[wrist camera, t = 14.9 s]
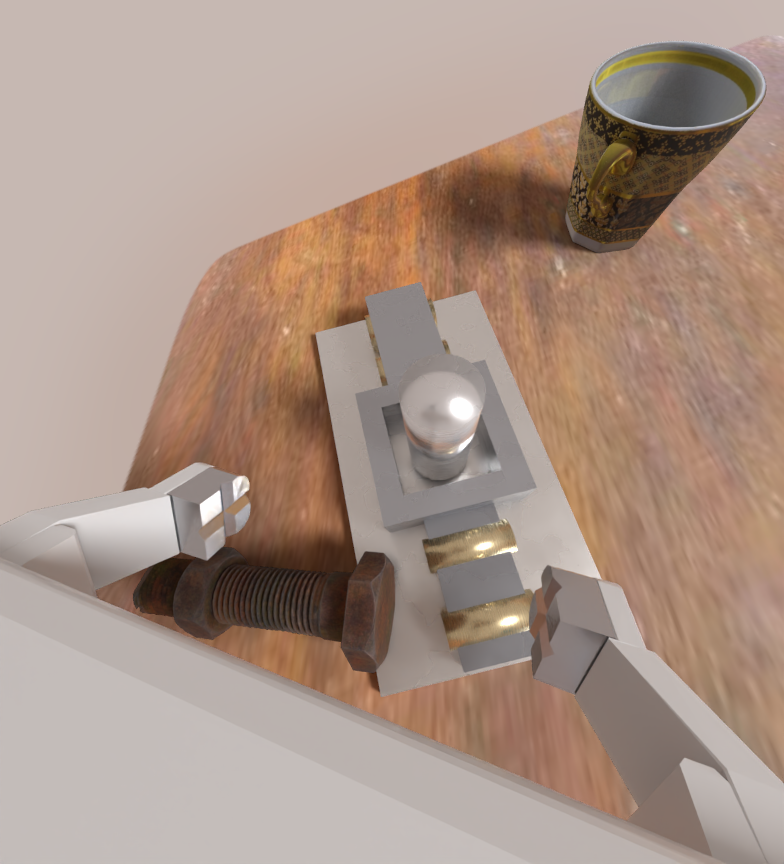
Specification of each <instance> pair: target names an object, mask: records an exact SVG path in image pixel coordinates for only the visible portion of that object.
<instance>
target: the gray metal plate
mask: <svg viewBox="0 0 784 864" xmlns="http://www.w3.org/2000/svg"><path fill="white" fill-rule="evenodd" d="M365 300H366V304H367V308H368V312H369V314H368V315H365V316H364V317H365V320H362V321H359V322H355V323H351V324H347V325H344V326H340V327H336V328H332V329H328V330H325V331H321V332H317V333H316V339H317V344H318V350H319V355H320V361H321V366H322V372H323V378H324V383H325V389H326V394H327V400H328V405H329V411H330V416H331V422H332V428H333V433H334V439H335V444H336V450H337V455H338V461H339V466H340V472H341V478H342V483H343V489H344V494H345V500H346V505H347V511H348V516H349V522H350V528H351V533H352V539H353V544H354V550H355V555H356V561H357V564H358V563H359V561H360V559H361V557H362V556H363V554H364V552H365V551H369V552H380V553H384V554H385V555H386V556H387V557H388V558H389V559H390V561H391V562H392V564H393V566H394V573H395V611H394V619H393V626H392V633H391V638H390V643H389V649H388V653H387V656H386V658H385V660H384V661H383V663H382V664H381V665H380V667H379V668H378V669H377V670H376V672H377V678H378V683H379V689H380V694H381V697H383V696H387V695H391V694H395V693H399V692H403V691H407V690H411V689H415V688H419V687H423V686H427V685H431V684H435V683H439V682H443V681H447V680H451V679H455V678H459V677H463V676H467V675H471V674H475V673H479V672H483V671H488V670H492V669H496V668H500V667H504V666H508V665H512V664H516V663H520V662H524V661H528V660H532V659H531V648H532V645H533V643H534V641H535V639H534V637H533V636H532V635H531V633H530V632H529V611H530V606H531V601H532V598H533V595H534V592H535V590H537V589H539V588H541V587H542V582H541V575H542V573H543V571H544V569H545V567H546V566H547V565H550V566H554V567H557V568H561V569H564V570H568V571H571V572H575V573H578V574H582V575H585V576H589V577H592V578H594V577H595V578H598V579H601V577H600V575H599V572H598V570H597V568H596V565H595V563H594V561H593V559H592V556H591V554H590V552H589V549H588V547H587V545H586V543H585V540H584V538H583V536H582V533H581V531H580V529H579V526H578V524H577V522H576V520H575V517H574V515H573V513H572V510H571V508H570V506H569V504H568V501H567V499H566V497H565V494H564V492H563V490H562V488H561V485H560V483H559V481H558V478H557V476H556V474H555V471H554V469H553V467H552V465H551V462H550V460H549V458H548V455H547V453H546V451H545V449H544V446H543V444H542V442H541V439H540V437H539V435H538V432H537V430H536V428H535V426H534V423H533V421H532V419H531V416H530V414H529V412H528V410H527V407H526V405H525V403H524V400H523V398H522V396H521V393H520V391H519V389H518V387H517V384H516V382H515V380H514V377H513V375H512V373H511V371H510V368H509V366H508V364H507V361H506V359H505V357H504V354H503V352H502V350H501V348H500V345H499V343H498V341H497V338H496V336H495V334H494V332H493V329H492V327H491V325H490V322H489V320H488V318H487V315H486V313H485V311H484V309H483V306H482V304H481V302H480V299H479V297H478V295H477V293H476V290H475V291H472V292H468V293H464V294H460V295H457V296H453V297H449V298H445V299H442V300H438V301H434V302H432V300H431V298H429V299H427V298H426V295H425V293H424V290H423V287H422V284H421V282H419V283H415V284H411V285H408V286H404V287H400V288H396V289H393V290H389V291H385V292H381V293H378V294H374V295H370V296H366V297H365ZM433 354H452V355H456V356H459V357H462V358H464V359H466V360H467V361H469V362H470V363H472V364H473V365H474V366H475V367H476V368H477V369H478V371H479V372H480V373H481V375H482V377H483V380H484V383H485V388H486V395H485V400H484V404H483V407H482V411H481V414H480V418H479V421H478V424H477V428H476V431H475V435H474V438H473V441H472V445H471V448H470V452H469V455H468V459H467V462H466V464H465V466H464V468H463V469H462V470H461V471H460V472H459V473H458V474H457V475H456V476H454V477H452V478H450V479H446V480H433V479H429V478H427V477H425V476H423V475H422V474H420V473H419V472H418V471H417V470H416V468H415V467H414V465H413V463H412V461H411V457H410V451H409V446H408V441H407V436H406V431H405V426H404V421H403V416H402V411H401V406H400V401H399V394H398V393H399V384H400V381H401V378H402V376H403V374H404V373H405V371H406V370H407V369H408V368H409V367H410V366H411V365H412V364H413V363H414V362H416V361H417V360H419V359H421V358H423V357H426V356H429V355H433Z"/></svg>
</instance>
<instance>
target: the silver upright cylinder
mask: <svg viewBox="0 0 784 864" xmlns="http://www.w3.org/2000/svg"><path fill="white" fill-rule="evenodd" d="M398 394H399V401H400V406H401V411H402V416H403V421H404V426H405V431H406V436H407V441H408V446H409V451H410V457H411V461H412V463H413V465H414V467H415V468H416V470H417V471H418V472H419V473H420V474H422V475H423V476H425V477H427V478H429V479H433V480H446V479H450V478H452V477H454V476H456V475H457V474H458V473H459V472H460V471H461V470H462V469H463V468H464V466H465V464H466V462H467V459H468V455H469V452H470V448H471V445H472V441H473V438H474V435H475V431H476V428H477V424H478V421H479V418H480V414H481V411H482V407H483V404H484V400H485V395H486V388H485V383H484V380H483V377H482V375H481V373H480V372H479V371H478V369H477V368H476V367H475V366H474V365H473V364H472V363H470V362H469V361H467V360H466V359H464V358H462V357H459V356H456V355H452V354H433V355H429V356H426V357H423V358H421V359H419V360H417V361H416V362H414V363H413V364H412V365H411V366H410V367H409V368H408V369H407V370H406V371H405V373H404V374H403V376H402V378H401V381H400V384H399V393H398Z"/></svg>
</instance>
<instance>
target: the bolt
mask: <svg viewBox="0 0 784 864" xmlns="http://www.w3.org/2000/svg"><path fill="white" fill-rule="evenodd" d="M133 601H134V605H135V607H136V609H137V608H138V607H140V611H141V612H142V613H148V614H156V615H164V616H171V617H174V620H175V622H176V623H177V624H178V625H179V627H180V628H182V629H183V630H185V631H186V632H187V633H189V634H191V635H193V636H194V637H197V638H204V639H211V640H213V639H214V638H216V637H217V636H219V635H220V634H222V633H223V632H225V631H226V630H227V629H229V628H230V627H231V626H232V625H237V626H243V627H246V626H247V627H250V628H251V627H254V628H260V629H266V630H268V629H270V630H281V631H287V632H292V633H297V634H304V635H310V636H313V635H314V636H317V637H322V638H323V639H325V640H332V641H338V642H341V648H342V650H343V652H344V654H345V656H346V658H347V660H348V661H349V663H350V665H351V667H352V669H353V670H356V671H362V672H369V673H374V672H375V671H376V670H377V669H378V668H379V667H380V665H381V664H382V663H383V661H384V660H385V658H386V656H387V653H388V649H389V643H390V638H391V633H392V626H393V619H394V611H395V573H394V566H393V564H392V562H391V561H390V559H389V558H388V557H387V556H386V555H385V554H384V553H380V552H369V551H365V552H364V554H363V556H362V557H361V559H360V561H359V563H358V564H357V566H356V568H355V570H354V571H353V573H346V572H333V573H325V572H323V573H322V572H316V571H312V572H311V571H304V570H294V569H284V568H273V567H270V568H269V567H261V566H260V567H258V566H249V565H248V562H247V561H246V559H245V558H244V557H243V556H242V555H241V554H240V553H239V552H238V551H236V550H235V549H234V548H227V547H221V548H220V549H219V550H218V551H217V552H216V553H215V554H214V555H213V556H212V557H210V558H209V559H208V560H204V559H201V558H198V557H197V558H196V559H195V560H187V559H176V558H168V559H166V560H163V561H161V562H159V563H157V564H154V565H152V566H150V567H149V568H148V569H147V571H146V573H145V574H144V576H143V578H142V579H141V581H140V583H139V584H138V586H137V588H136V589H135V591H134V593H133Z"/></svg>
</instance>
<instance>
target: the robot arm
mask: <svg viewBox="0 0 784 864" xmlns="http://www.w3.org/2000/svg"><path fill="white" fill-rule="evenodd" d="M248 490H249V480H248V478H246V477H245V476H244V475H240V474H237V473H234V472H231V471H228V470H225V469H222V468H219V467H214V466H212V465H208V464H205V463H202V462H200V463H194V464H192V465H190V466H189V467H187V468H185V469H183V470H181V471H180V472H178V473H176V474H174V475H173V476H171V477H169V478H167V479H165V480H164V481H162V482H160V483H158V484H157V485H155V486H153V487H151V488H150V489H148V488H139V489H134V490H129V491H125V492H120V493H115V494H110V495H106V496H101V497H96V498H91V499H86V500H82V501H77V502H72V503H67V504H62V505H57V506H52V507H48V508H43V509H38V510H33V511H30V512H27V513H25V514H23V515H21V516H19V517H17V518H15V519H13V520H11V521H8V522H6V523H4V524H2V525H0V864H784V783H783V782H782V781H781V780H780V779H779V778H778V777H777V776H776V775H775V774H774V773H773V772H772V771H771V770H770V769H769V768H768V767H767V766H766V765H765V764H764V763H763V762H762V761H761V760H760V759H759V758H758V757H757V756H756V755H755V754H754V753H753V752H752V751H751V750H750V749H749V748H748V747H747V746H746V745H745V744H744V743H743V742H742V741H741V740H740V739H739V738H738V737H737V736H736V735H735V734H734V732H733V731H732V730H731V729H730V728H729V727H728V726H727V725H726V724H725V723H724V722H723V721H722V720H721V719H720V718H719V717H718V716H717V715H716V714H715V713H714V712H713V711H712V710H711V709H710V708H709V707H708V706H707V705H706V704H705V703H704V702H703V701H702V700H701V699H700V698H699V697H698V696H697V695H696V694H695V693H694V692H693V691H692V690H691V689H690V688H689V687H688V686H687V685H686V684H685V683H684V682H683V681H682V680H681V679H680V678H679V677H678V676H677V675H676V674H675V672H674V671H673V670H672V669H671V668H670V667H669V666H668V665H667V664H666V663H665V662H664V661H663V660H662V659H661V658H660V657H659V656H658V655H657V654H656V653H655V652H652V651H649V650H647V649H646V647H645V644H644V642H643V639H642V637H641V634H640V632H639V629H638V627H637V624H636V622H635V620H634V617H633V615H632V612H631V610H630V607H629V605H628V602H627V600H626V597H625V595H624V592H623V590H622V588H621V587H620V586H619V585H618V584H617V583H613V582H609V581H606V580H602V579H598V578H595V577H594V578H592V577H589V576H585V575H582V574H578V573H575V572H571V571H568V570H564V569H561V568H557V567H554V566H550V565H547V566H546V567H545V569H544V571H543V573H542V575H541V582H542V587H541V588H539V589H537V590H535V592H534V595H533V598H532V601H531V606H530V611H529V632H530V633H531V635H532V636H533V637H534V639H535V641H534V643H533V645H532V648H531V659H532V671H533V678H534V679H536V680H539V681H541V682H544V683H546V684H549V685H552V686H554V687H557V688H559V689H562V690H564V691H567V692H569V693H572V694H575V696H574V697H575V698H576V700H577V702H578V704H579V705H580V707H581V709H582V711H583V712H584V714H585V716H586V717H587V719H588V721H589V723H590V724H591V726H592V728H593V729H594V731H595V733H596V735H597V736H598V738H599V740H600V741H601V743H602V745H603V747H604V748H605V750H606V752H607V753H608V755H609V757H610V759H611V760H612V762H613V764H614V765H615V767H616V769H617V771H618V772H619V774H620V776H621V778H622V779H623V781H624V783H625V784H626V786H627V788H628V790H629V791H630V793H631V795H632V796H633V798H634V800H635V802H636V803H637V805H638V807H639V808H638V809H637V810H636V811H635V812H634V813H633V814H632V815H631V817H630V818H629V819H628V820H627V821H625V820H623V819H621V818H618V817H616V816H614V815H611V814H609V813H606V812H604V811H602V810H599V809H597V808H595V807H592V806H590V805H587V804H585V803H583V802H580V801H578V800H576V799H573V798H571V797H568V796H566V795H564V794H561V793H559V792H557V791H554V790H552V789H549V788H547V787H545V786H542V785H540V784H537V783H535V782H533V781H530V780H528V779H526V778H523V777H521V776H518V775H516V774H514V773H511V772H509V771H507V770H504V769H502V768H499V767H497V766H495V765H492V764H490V763H488V762H485V761H483V760H480V759H478V758H476V757H473V756H471V755H469V754H466V753H464V752H461V751H459V750H457V749H454V748H452V747H450V746H447V745H445V744H442V743H440V742H438V741H435V740H433V739H430V738H428V737H426V736H423V735H421V734H419V733H416V732H414V731H411V730H409V729H407V728H404V727H402V726H399V725H397V724H395V723H392V722H390V721H388V720H385V719H383V718H380V717H378V716H376V715H373V714H371V713H369V712H366V711H364V710H361V709H359V708H357V707H354V706H352V705H349V704H347V703H345V702H342V701H340V700H338V699H335V698H333V697H330V696H328V695H326V694H323V693H321V692H319V691H316V690H314V689H311V688H309V687H307V686H304V685H302V684H299V683H297V682H295V681H292V680H290V679H288V678H285V677H283V676H280V675H278V674H276V673H273V672H271V671H269V670H266V669H264V668H261V667H259V666H257V665H254V664H252V663H250V662H247V661H245V660H242V659H240V658H238V657H235V656H233V655H231V654H228V653H226V652H223V651H221V650H219V649H216V648H214V647H212V646H209V645H207V644H204V643H202V642H200V641H197V640H195V639H193V638H190V637H188V636H185V635H183V634H181V633H178V632H176V631H174V630H171V629H169V628H166V627H164V626H162V625H159V624H157V623H155V622H152V621H150V620H147V619H145V618H143V617H140V616H138V615H136V614H133V613H131V612H128V611H126V610H124V609H121V608H119V607H117V606H114V605H112V604H109V603H107V602H105V601H102V600H100V599H98V597H97V594H96V591H95V590H97V589H100V588H102V587H104V586H106V585H109V584H111V583H113V582H116V581H118V580H120V579H122V578H125V577H127V576H129V575H131V574H134V573H136V572H138V571H141V570H143V569H145V568H147V567H150V566H152V565H154V564H157V563H159V562H161V561H163V560H166V559H168V558H170V557H172V556H175V555H177V554H179V552H182V553H185V554H188V555H191V556H194V557H198V558H201V559H204V560H208V559H209V558H210V557H212V556H213V555H214V554H215V553H216V552H217V551H218V550H219V549H220V548H221V547H222V546H224V545H225V541H226V537H228V536H231V535H234V534H236V533H238V532H239V531H240V530H241V529H242V528H243V527H244V525H245V523H246V521H247V520H248V518H249V514H250V501H249V499H248V498H247V496H246V495H245V494H246V493H247V491H248Z"/></svg>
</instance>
